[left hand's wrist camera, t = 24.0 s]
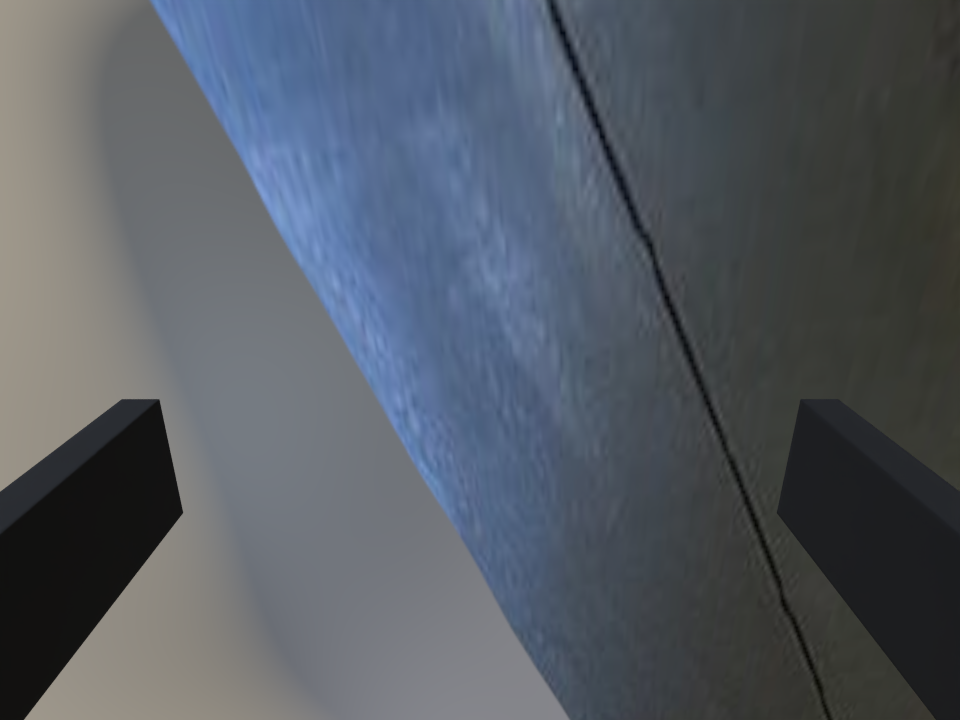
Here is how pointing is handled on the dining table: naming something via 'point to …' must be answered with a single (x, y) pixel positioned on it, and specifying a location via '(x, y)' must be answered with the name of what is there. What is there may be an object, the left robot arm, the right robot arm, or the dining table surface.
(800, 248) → the dining table surface
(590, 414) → the dining table surface
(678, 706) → the dining table surface
